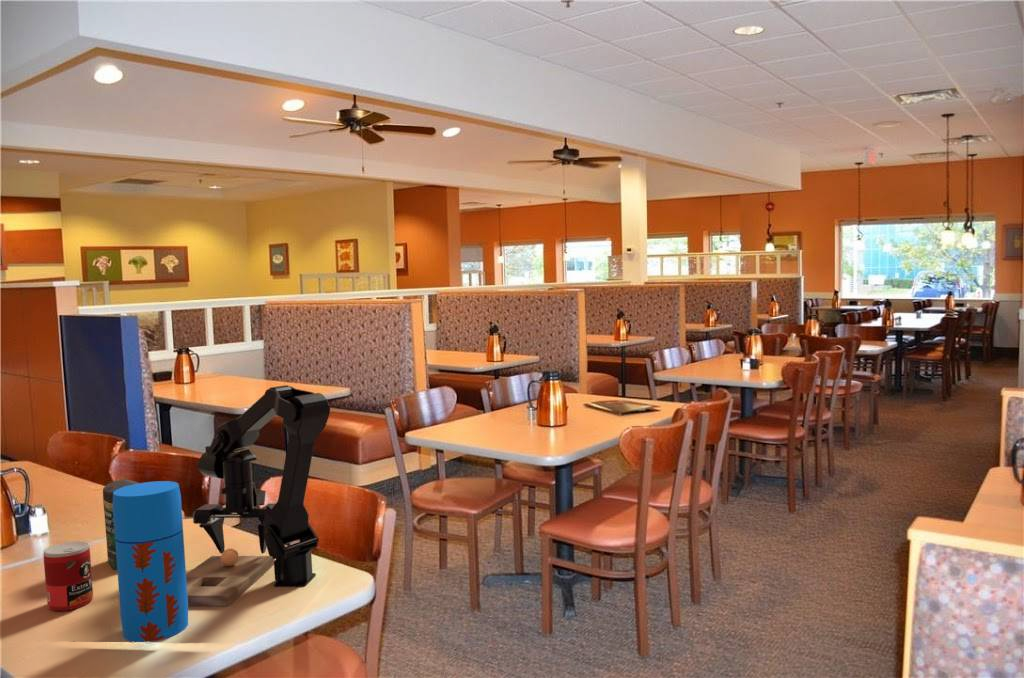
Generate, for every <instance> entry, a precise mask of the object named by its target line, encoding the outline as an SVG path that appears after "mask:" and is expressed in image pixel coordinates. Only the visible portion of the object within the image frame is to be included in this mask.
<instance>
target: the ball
mask: <svg viewBox="0 0 1024 678" xmlns="http://www.w3.org/2000/svg"><path fill="white" fill-rule="evenodd" d="M220 556H221V562H222V563H223V564H224V565H226V566H232V565H234V564H236V563H237V561H238V558H239V556H240V555H239V552H238V551H237V550H236V549H235V548H227V549H224V552H223V553H222V554H221V555H220Z"/></svg>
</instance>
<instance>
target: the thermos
mask: <svg viewBox="0 0 1024 678" xmlns="http://www.w3.org/2000/svg"><path fill="white" fill-rule="evenodd" d="M138 483H139V484H133V485H129V486H125V487H122V488H119V489H117V490H115V491H114V492H113V518H114V531H115V545H116V559H117V570H116V573H117V582H118V583H117V587H118V599H119V610H120V621H121V629H122V635H123V638H124V639H125V640H126V641H128V642H132V643H151V642H156V641H160V640H164V639H165V640H166V639H169V638H171V637H173V636H175V635H178V634H180V633H182V632H183V631H184V630H186V629H187V627H188V626H189V606H188V596H187V581H186V574H187V570H186V569H187V568H186V555H185V539H184V526H183V509H182V508H183V507H182V495H181V489H180V483H178V482H175V481H169V480H166V481H165V480H161V481H160V480H159V481H147V482H141V483H140V482H138Z"/></svg>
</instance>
